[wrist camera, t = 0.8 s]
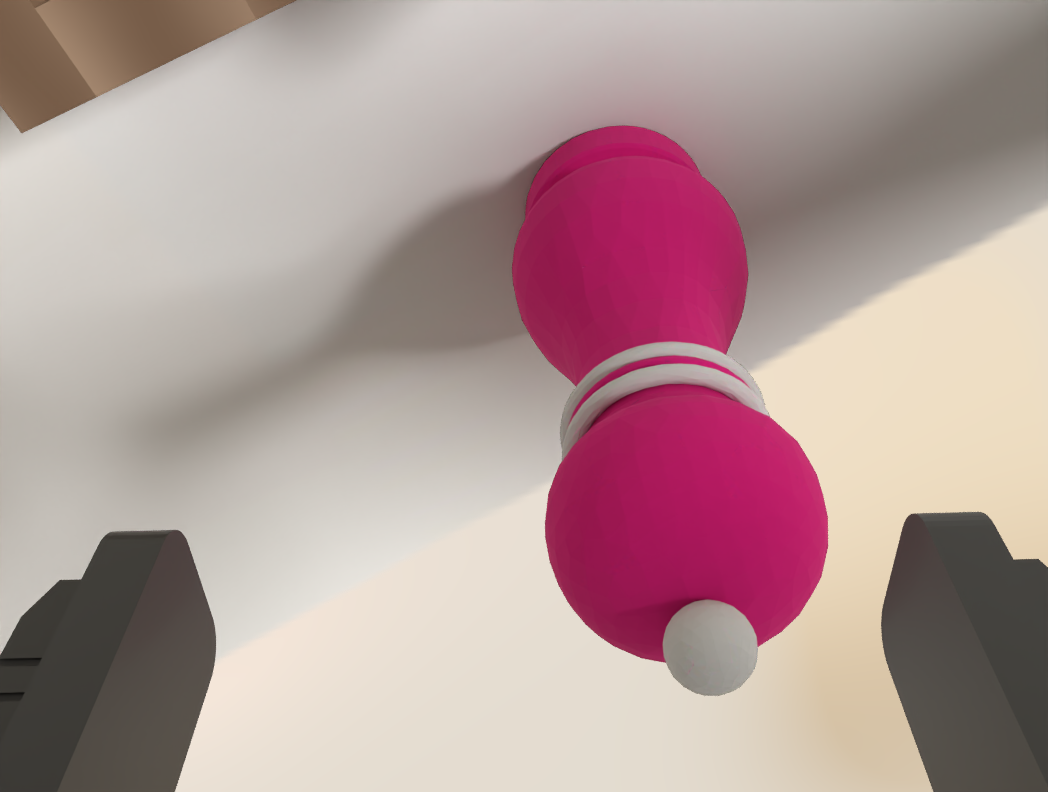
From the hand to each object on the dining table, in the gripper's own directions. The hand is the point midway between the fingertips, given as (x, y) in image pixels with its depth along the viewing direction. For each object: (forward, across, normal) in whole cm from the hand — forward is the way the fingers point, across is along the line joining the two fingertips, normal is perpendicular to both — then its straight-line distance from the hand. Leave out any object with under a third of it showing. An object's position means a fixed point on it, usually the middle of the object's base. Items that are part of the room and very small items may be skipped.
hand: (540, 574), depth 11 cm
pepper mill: (+24, -3, +7) cm, 25 cm away
